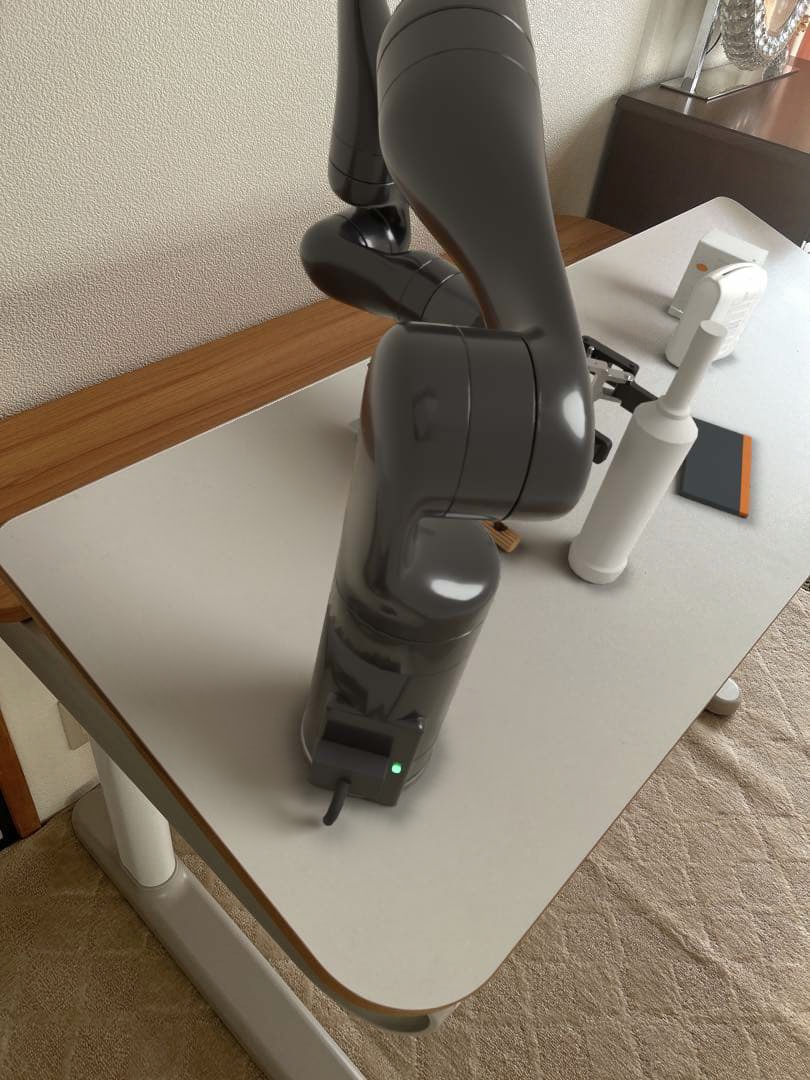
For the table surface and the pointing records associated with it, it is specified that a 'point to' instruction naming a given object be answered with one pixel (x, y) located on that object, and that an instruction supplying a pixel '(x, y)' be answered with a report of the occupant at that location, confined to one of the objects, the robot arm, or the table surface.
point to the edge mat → (718, 469)
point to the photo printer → (719, 307)
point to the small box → (713, 262)
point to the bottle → (643, 466)
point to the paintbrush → (486, 522)
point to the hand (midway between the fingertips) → (635, 435)
